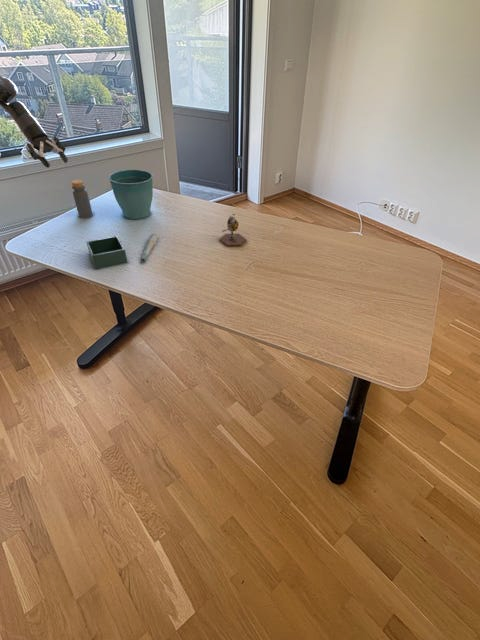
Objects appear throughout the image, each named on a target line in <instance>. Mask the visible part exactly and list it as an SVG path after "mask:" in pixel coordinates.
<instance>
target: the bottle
mask: <svg viewBox="0 0 480 640" xmlns="http://www.w3.org/2000/svg"><path fill="white" fill-rule="evenodd" d="M70 183H71V185H72V186H71V188H72V190H73V191H72V195H73V200H74V203H75V206H76V210H77V214H78V218H81V219H89V218H91V217H92V216H94V214H93V209H92V206H91V201H90V198H89V193H88V191H87V190H86V185H85V184H84V180H83V179H73V180H71V182H70Z"/></svg>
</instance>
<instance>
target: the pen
mask: <svg viewBox="0 0 480 640" xmlns="http://www.w3.org/2000/svg"><path fill="white" fill-rule="evenodd" d="M158 237H159V236H158V234H157V232H153V233H151V234H150V235H149V237H148V239H147V242H146V244H145V248H144V251H143V252H142V256H141V263H144V262H145V261H146V260H147V258H148V256H149V255H150V252H151V250H152V249H153V247H154V246H155V245H156V243H157V241H158Z"/></svg>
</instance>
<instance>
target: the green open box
mask: <svg viewBox="0 0 480 640" xmlns="http://www.w3.org/2000/svg"><path fill="white" fill-rule="evenodd" d="M86 247H87V249H88V254H89V256H90V260H91V261H92V264H93V267H94V269H95V270H101V269H106V268H111V267H115V266H120V265H123V264H128V258H127V254H126V253H127V252H126V249H125V247H124V246H123V244H122V242H121V240H120V238H119V236H118V235H115V236H110V237H105V238H99V239H93V240H88V241H86Z"/></svg>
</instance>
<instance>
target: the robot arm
mask: <svg viewBox="0 0 480 640" xmlns="http://www.w3.org/2000/svg"><path fill="white" fill-rule="evenodd" d="M18 92H19V91H18V88H17V86H16V84H15V83H14V82H13V81H12V80H11V79H9V78H7V77H5V76H3V75H2V76H1V75H0V108H2V110H4V111H5V112H6V113H7V114H8V115H9V116H10V117H11V119H12V120H13V121H14V123H15V124H16V125H17V127H18V129H19V130H20V132H21V133H22V135H24V137H25V138H26V140H27V141H28V142H27V143H26V146H25V149H26V150H27V152H28V153H29V155H30V156H31V158H32V159H33V160H34V161H37V160H38V161H40V162H41V163H42V165H43V166H44V167H45V168H47V169H48V168H50V167H51V163H50V162H49V161H48V160H47V158H46V157H45V156H44V154H47V153H51V152H52V153H53V154H57V155H59V157H60V159H61V160H62V161H63V163H65V164H66V163H68V161H69V158H68V156H67V155H66V153H65V152H66V149H67V148H66V147H65V146H64V144H63V143H62V142H61V141H60V140H59V138H58V137H57V136H54V138H52V139H51V138H50V137H49V136H48V134H47V133H46V131H45V130H44V128H43V127H42V125H40V123H39V121H38V120H37V119H36V118H35V117H34V116H33V115H32V113H31V112H30V111H29V109H28V108H27V107H26V106H25V104H24V103H23V102H21V101H18V100H17V101H13V100H14V99H15V98H16V97H17V96H18V94H19V93H18ZM12 101H13V102H12ZM36 151H37V152H36Z"/></svg>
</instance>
